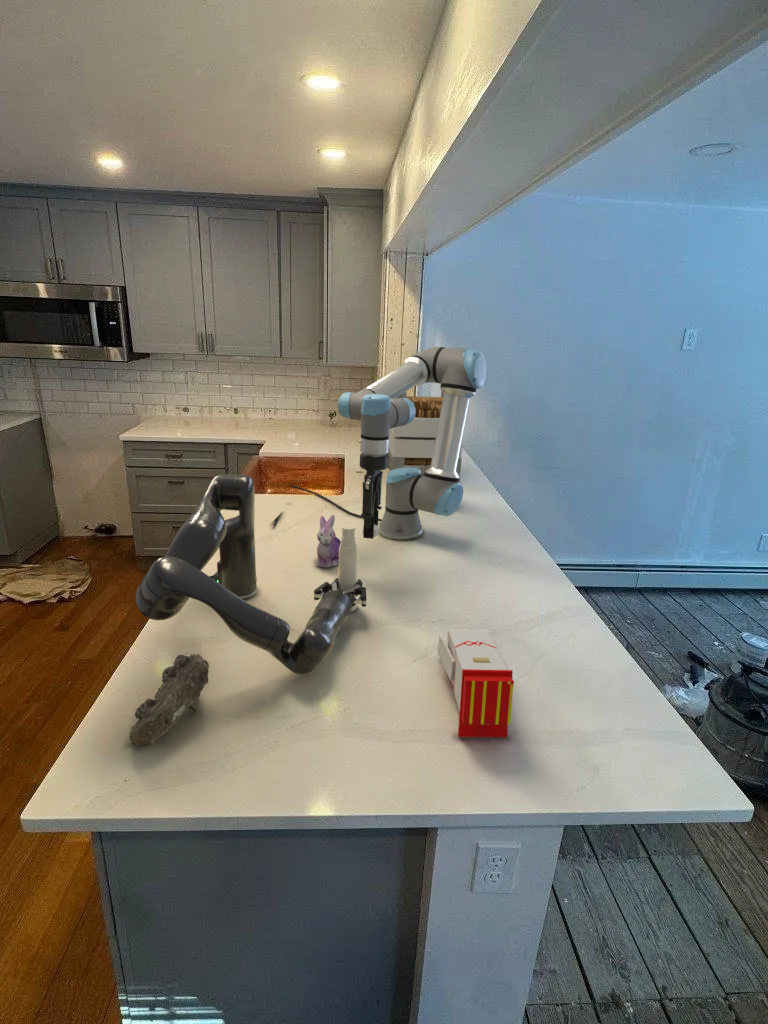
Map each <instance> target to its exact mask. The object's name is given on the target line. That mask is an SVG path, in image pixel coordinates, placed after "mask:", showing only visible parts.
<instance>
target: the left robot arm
mask: <svg viewBox="0 0 768 1024" xmlns="http://www.w3.org/2000/svg"><path fill="white" fill-rule="evenodd" d="M255 487H256V485H255V481H254V479H253V477H252V476H251V475H247V474H236V473H235V474H231V473H220V474H217V475H214V477H212V479H211V481H210V482H209V484H208V486H207V488H206V490H205V492H204V494H203V496H202V498H201V499H200V501H199V502H198V504H197V505H196V507H195V508H194V510H193V511H192V512H191V513H190V515H189V516H188V517H187V519H186V520H185V521H184V522H183V524H182V525H181V527H180V528H179V530H178V531H177V533H176V535H175V536H174V538H173V540H172V542H171V543H170V546H169V547H168V550H167V551H166V554H165V555H164V556H161V557H159V558H157V559H155V561H154V562H153V563H152V564H151V565H150V567H149V569H147V572H146V573H145V575H144V576H143V578H142V579H141V581H140V583H139V584H138V586H137V588H136V592H135V604H136V607H137V610H138V611H139V612H140V613H141V614H142V615H143V616H144V617H145V618H147V619H149V620H152V621H167V620H169V619H171V618H173V617H175V616H176V615H177V614H179V613H181V611H182V610H183V608H184V607H185V606H186V604H187V603H188V602H189V600H190V599H192V600H194V601H195V600H196V601H198V602H201V603H203V604H204V605H206V606H208V607H209V608H211V610H213V611H214V612H215V613H216V615H218V616H219V618H220V619H221V620H222V622H223V623H224V624H225V625H226V627H227V628H228V629H229V630H230V632H232V633H233V635H234V636H235V637H237V638H238V639H240V640H241V641H243V642H246V644H249V645H251V646H254V647H256V648H257V649H261V650H262V651H265V652H267V653H269V655H271V656H272V657H273V658H274V659H275V660H277V661H278V662H280V664H282V665H283V666H284V667H285V668H287V669H288V670H289V671H290V672H291V673H294V674H296V675H301V676H305V675H309V674H311V673H313V672H314V671H315V670H316V669H317V668H318V667H319V666H320V664H321V663H322V662H323V661H324V660H325V659H326V658H327V657H328V655H329V654H330V652H332V650H333V647H334V645H335V640H336V636H337V634H338V633H339V631H340V629H341V628H342V627H343V626H344V624H345V622H346V620H347V619H348V617H349V614H350V613H351V612H350V611H351V608H352V607H353V606H355V605H356V606H357V605H361V607H362V608H366V607H367V599H368V598H367V595H368V594H367V587H366V586H363V585H364V584H363V581H362V579H361V578H357V580H356V584H355V586H354V587H350V588H349V589H347V590H341V589H338V577H336V578H334V580H333V581H331V583H329V582H328V581H325V582H323V583H322V584H321V585H319V586H318V587H316V588H315V589H313V600H314V601H319V602H318V604H317V605H316V606H315V608H314V610H313V612H312V615H311V616H310V618H309V619H308V621H307V623H306V625H305V627H304V629H303V631H302V632H301V634H300V635H299V636H298V637H297V638H296V640H295V641H294V642H291V641H289V640H288V639H289V635H290V631H291V627H290V624H289V622H287V621H286V620H284V619H282V618H280V617H278V616H277V615H274V614H273V613H270V612H268V611H266V610H264V609H261V608H259V607H257V606H255V605H254V604H251V603H250V602H248V601H247V600H246V599H250V598H251V597H253V596H256V594H257V593H258V586H257V585H258V583H257V581H258V577H257V564H256V563H257V561H256V540H255V534H256V533H255V521H256V520H255V518H256V517H255V500H256V497H255V496H256V488H255ZM221 511H238V515H236V516H233V517H230V518H227V519H225V518H224V516H223V514H222V512H221ZM217 551H219V560H218V561H217V562H216V569H217V570H216V572H215V573H214V574H213V575H208V574H206V573H205V572H204V571H202V570H203V569H204V568H205V567H206V565H207V564H208V563H209V562H210V561H211V560H212V558H213V557H214V555H215V554H216V553H217Z"/></svg>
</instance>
